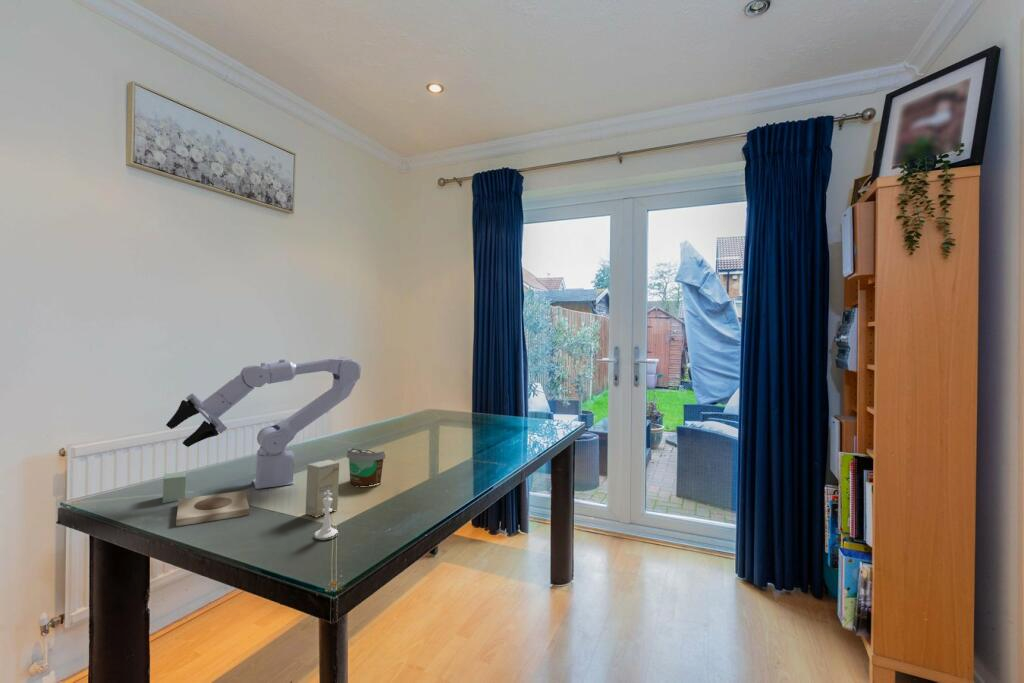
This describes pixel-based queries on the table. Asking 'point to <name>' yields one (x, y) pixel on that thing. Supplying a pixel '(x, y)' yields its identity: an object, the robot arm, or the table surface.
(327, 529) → the chess piece
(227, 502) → the display base
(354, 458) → the food container
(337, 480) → the skincare box
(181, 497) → the green block
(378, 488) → the table surface
